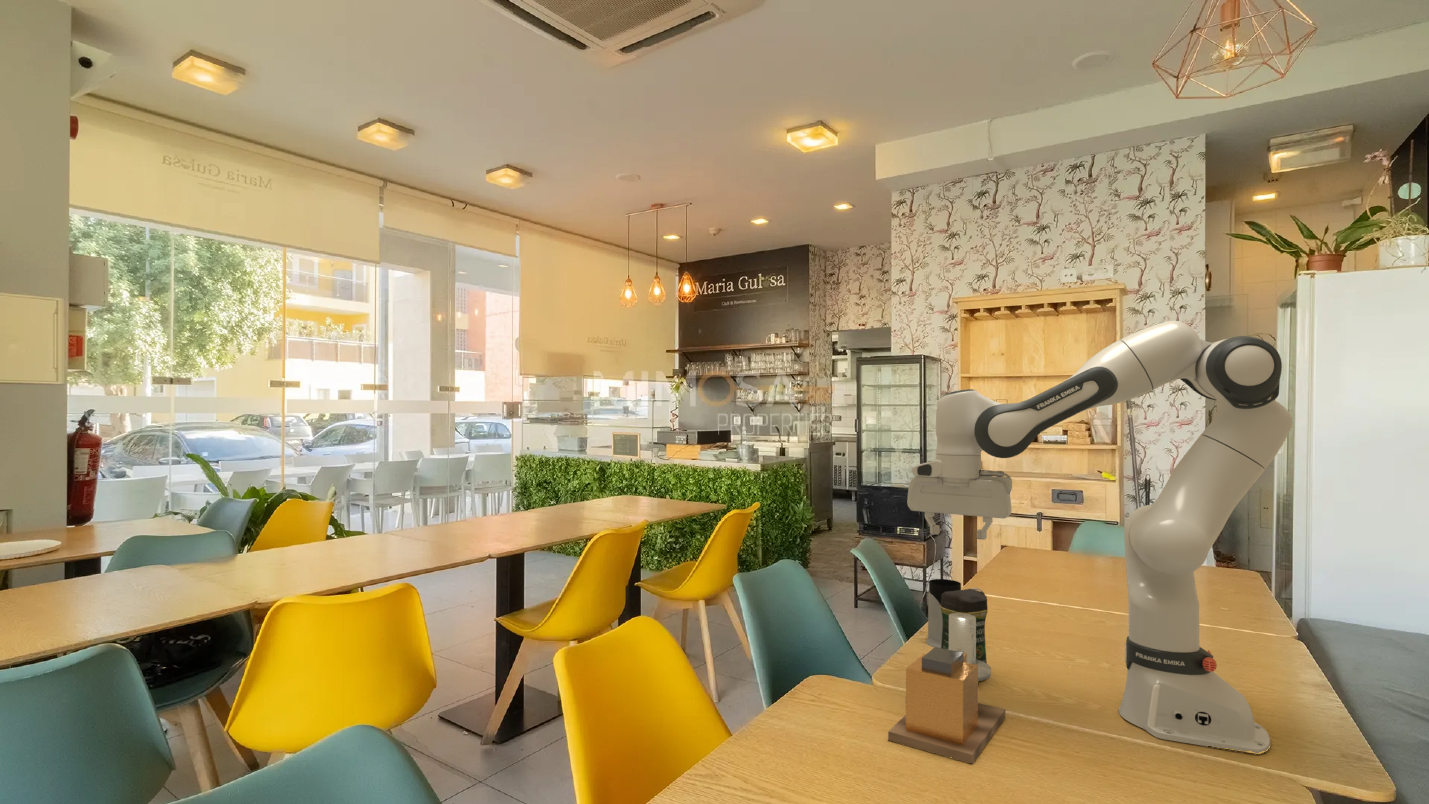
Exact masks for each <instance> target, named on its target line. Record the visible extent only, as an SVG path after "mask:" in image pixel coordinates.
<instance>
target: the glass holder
mask: <svg viewBox="0 0 1429 804" xmlns="http://www.w3.org/2000/svg"><path fill="white" fill-rule="evenodd" d="M971 589H974V590H977V591H980V592H983V593H984V594H985V592H984V591H983V590H982V589H981V588H978V587H973V588H971ZM957 590H962V583H961V582H960V581H958V580H953V579H949V578H947V579H945V578H944V579H943V578H932V579H930V580H929V581H928V595H927V596H928V599H927V600H928V602H927V605H928V607H927V609H928V611H927V612H928V613H927V622H928V625H927V626H928V627H927V628H928V629H927V639H926V640H925V641H926V642H925V643H926V644H927V645H929V646H930V647H932V648H934V647H937V648H941V643H942V628H943V618H942V612H941V607H940V606H941V597H942V594H943V593H944V592H948V591H957Z"/></svg>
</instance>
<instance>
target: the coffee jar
mask: <svg viewBox="0 0 1429 804" xmlns="http://www.w3.org/2000/svg"><path fill="white" fill-rule="evenodd" d="M983 592H984V591H983ZM983 592H981V591H980V590H974V589H972V588H966V589H961V590H957V591H948V592H944V593H943V594H942V597H941V606H940V607H941V612H942V618H943V628H942V643H941V648H943V649H948V650H949V614H952V613H965V614H970V615H973V616H975V617H976V659H977V660H980V661H983V662H985V663H987V664H988V662H987V661H988V660H987V651H986V650H987V649H986V629H985V627H986V618H987V615H988V610H989V608H988V597H987V596H986V593H985V592H984V593H983Z"/></svg>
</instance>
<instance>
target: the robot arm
mask: <svg viewBox="0 0 1429 804" xmlns="http://www.w3.org/2000/svg"><path fill="white" fill-rule="evenodd" d="M1282 368H1283V363H1282V358H1281V354H1280V353H1279V352H1278V350H1277V349H1276V347H1274V346H1273V345H1272V344H1270V343H1269V341H1266V340H1264V339H1261V338H1257V337H1254V336H1248V335H1241V336H1239V335H1238V336H1234V337H1229V338H1226V339H1221V340H1218V341H1212V342H1210V341H1206V340H1204V339H1202V338H1200V336H1199V334H1198V333H1197V332H1196V330H1195V329H1194V328H1193V327H1191V326H1190V325H1189V324H1187V323H1185V322H1183V321H1180V320H1166V321H1164V322H1160V323H1157V324H1154V325H1151V326H1148V327H1146V328H1145V327H1144V328H1143V329H1141V330H1137V331H1136V332H1133V333H1131V334H1128V335H1126V336H1125V337H1123V338H1121V339H1118V340H1116V341H1115V342H1113V343H1111V344H1109V345H1108V346H1106V347H1105V348H1103V349H1101V350H1099V351H1098V352H1096V353H1095V354H1093V355H1092V356H1091V357H1090V358H1089V359H1088V360H1086V361H1085V362H1084V363H1083V365H1082V366H1081V367H1080V368H1079V369H1078V370H1077V371H1076V372H1075V373H1074V374H1072V375H1071V376H1069V378H1067V379H1065V380H1064V381H1062V382H1061V383H1059V384H1057V385H1055V386H1053V387H1050V388H1048V389H1047V390H1044V391H1042V392H1040V393H1039V394H1037V395H1034V396H1033V397H1031V398H1028V399H1026V400H1023V401H1020V402H1016V403H1015V402H1014V403H1001V402H999V401H996V400H993V399H991V398H989V397H987V396H985V395H983V394H982V393H980V392H979V391H978V390H976V389H969V388H968V389H960V390H959V389H958V390H953V391H951V392H948V393H947V392H946V393H945V394H943V395H942V396H941V397H940V398H939V400H938V402H937V406H936V407H937V408H936V416H935V436H936V438H937V445H936V449H935V458H934V459H935V460H929V461H926V462H923V463H920V464H916V465H914V466H912V470H911V471H912V475H913V477H912V478H911V479H910V481H909V484H908V491H907V507H908V508H909V510H910V511H912V512H921V513H922V512H924V519H925V520H926V522H927V524H928V526H929V533H930V535H940V525H938V524H936V522H935V520H934V519H933V517H935V514H946V515H957V516H958V515H959V516H967V517H968V516H971V517H980V518H982V523H984V525H983V526H982V528H981V529H977V530H976V540H987V531H988V530H989V528H990V526H991V525H992V523H993V519H1003V520H1004V519H1007V518H1008V517H1009V516H1011V514H1012V501H1011V500H1012V499H1011V492H1012V489H1013V479H1012V478H1011V476H1010V475H1009V474H1008V473H1006V472H1005V471H1003V470H987V469H982V451H983V452H984V453H986V454H987V455H990V456H992V457H994V458H999V459H1009V458H1014V457H1017V456H1018V455H1020V454H1021V453H1023V452H1025V450H1026V449H1027V448H1028V447H1029V446H1030V445H1031V444H1032V443H1033V441H1034V440H1035V439H1036V438H1037V437H1038V435H1040V434H1041V433H1043V432H1044V431H1046V430H1048V429H1049V428H1051V427H1053V426H1055V425H1058V424H1059V423H1061V422H1063V421H1066V420H1067V419H1069V418H1072V417H1073V416H1075V415H1077V414H1079V413H1082V412H1084V411H1087V410H1090V409H1093V408H1099V407H1103V406H1112V405H1117V404H1120V403H1123V402H1126V401H1127V402H1128V401H1130V400H1133V399H1136V398H1138V397H1140V396H1143V395H1146V394H1148V393H1149V392H1152V391H1153V390H1154V391H1155V390H1156V389H1158V388H1160V387H1162V386H1164V385H1166V384H1168V383H1172V382H1173V381H1174V382H1175V381H1177V380H1181V381H1182V382H1183V383H1184V384H1185V385H1187V386H1188V387H1189V388H1190V389H1191V390H1193V391H1194V392H1195V393H1196V394H1198V395H1199V396H1201V397H1203V398H1205V399H1209V400H1211V401H1212V400H1213V401H1216V411H1215V414H1214V417H1213V419H1211V422H1210V423H1209V424H1208V426H1206V428H1205V429H1204V430H1203V432H1202V433H1201V434H1200V435H1199V436H1198V437H1197V439H1196V440H1195V441H1194V443H1193V444H1192V445H1191V446H1190V448H1189V449H1188V450H1187V452H1186V453H1185V454H1184V455H1183V457H1182V458H1180V460H1179V462H1178V463H1177V464H1176V465H1175V467H1174V468H1173V470H1172V471H1171V473H1170V476H1169V477H1168V480H1167V481H1166V483H1165V484H1164V486H1163V488H1162V490H1161V491H1160V493H1159V494H1158V497H1157V498H1156V499H1155V501H1154V503H1152V504H1147V505H1142V506H1140V507H1138V508H1136V509H1135V510H1133V511H1132V512H1131V513H1130V514H1129V515H1128V516H1127V518H1126V520H1125V523H1124V527H1123V528H1124V529H1123V538H1124V539H1123V540H1124V541H1123V542H1124V556H1125V557H1124V558H1125V571H1126V584H1127V591H1128V593H1127V594H1128V597H1127V598H1128V636H1127V637H1126V639H1125V641H1126V642H1125V643H1124V645H1125V646H1124V647H1125V649H1124V650H1125V653H1124V656H1125V660H1124V661H1125V666H1126V668H1127V671H1126V681H1125V686H1124V690H1123V691H1124V692H1123V695H1122V699H1121V701H1120V702H1121V703H1120V705H1119V708H1118V713H1119V715H1120V716H1121V717H1122V718H1123V719H1125V721H1127V722H1129V723H1130V724H1133V725H1134V726H1137V727H1139V728H1141V729H1142V730H1144V731H1146V732H1147V733H1149V734H1150V735H1152V736H1153V737H1155V738H1157V739H1159V740H1160V739H1161V740H1166V741H1172V742H1179V743H1184V744H1191V745H1197V746H1201V747H1208V746H1212V747H1211V748H1214V747H1218V748H1217V749H1219V748H1228V749H1234V750H1238V751H1239V750H1241V751H1252V752H1255V753H1259V752H1262V751H1266V750H1267V749H1268V748H1269V746H1270V745H1271V739H1270V735H1269V733H1268V732H1267V730H1266V728H1265V727H1263V726H1262V725H1260V724H1259V723H1257V722H1255V721H1254V720H1255V719H1254V715H1253V712H1252V709H1251V706H1250V704H1249V702H1248V700H1247V698H1246V697H1245V696H1244V695H1243V694H1242V693H1241V692H1240V691H1238V690H1237V689H1236V688H1235V687H1233V686H1232V685H1230V684H1229V683H1228V682H1227V681H1226V680H1225V679H1223V678H1222V677H1221V676H1219V675H1218V674H1217V673H1216V672H1215V670H1216V671H1217V665H1218V664H1217V662H1216V660H1215V659H1214V655H1213V654H1212V652H1211V651H1210V650H1209V649H1208V650H1206V649H1204V648H1203V647H1201V646H1200V601H1199V599H1198V598H1199V597H1198V593H1197V587H1196V580H1195V572H1194V571H1196V570H1198V569H1199V568H1200V567H1202V566H1203V565H1204V563H1205V561H1206V559H1207V557H1208V555H1209V551H1210V550H1211V548H1212V547H1213V545H1214V544H1215V542H1216V541H1217V539H1218V538H1219V536H1220V534H1221V532H1222V530H1223V529H1224V527H1225V525H1226V523H1227V521H1228V519H1229V518H1230V516H1231V515H1232V513H1233V511H1234V509H1235V508H1236V507H1237V505H1238V504H1239V502H1241V500H1242V499H1243V498H1244V496H1245V495H1246V494H1247V492H1249V490H1250V489H1251V488H1252V487H1253V485H1254V484H1255V482H1257V480H1258V479H1259V478H1260V477H1261V475H1262V474H1263V473H1264V472H1265V470H1266V469H1267V468H1268V467H1269V465H1270V464H1271V463H1272V461H1273V460H1274V458H1275V457H1276V456H1277V454H1278V452H1280V449H1281V448H1282V446H1283V445H1284V443H1285V441H1286V439H1287V437H1288V435H1289V434H1290V431H1291V429H1292V428H1293V427H1292V426H1293V417H1292V416H1291V413H1290V412H1289V410H1288V409H1287V408H1286V407H1285V406H1284V405H1282V404H1281V403H1280V402H1278V401H1277V400H1276V399H1277V398H1278V397H1279V395H1280V382H1281V376H1282V371H1283V370H1282ZM1270 747H1271V746H1270Z"/></svg>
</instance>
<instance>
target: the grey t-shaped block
mask: <svg viewBox="0 0 1429 804" xmlns="http://www.w3.org/2000/svg"><path fill="white" fill-rule="evenodd" d="M925 654H926V655H925V656H923V657H922V670H926V671H930V672H935V673H939V674H944V675H949V676H952V675H953V674H954V673H955V672H956V671H957V670H958V669H959V668H960V667H961V666H962V665H963V652H958V651H953V650H948V649H943V648H937V647H932V648H931V650H930V651H928V652H927V653H925Z"/></svg>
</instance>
